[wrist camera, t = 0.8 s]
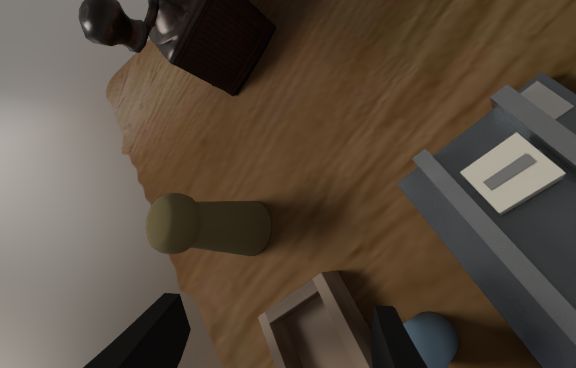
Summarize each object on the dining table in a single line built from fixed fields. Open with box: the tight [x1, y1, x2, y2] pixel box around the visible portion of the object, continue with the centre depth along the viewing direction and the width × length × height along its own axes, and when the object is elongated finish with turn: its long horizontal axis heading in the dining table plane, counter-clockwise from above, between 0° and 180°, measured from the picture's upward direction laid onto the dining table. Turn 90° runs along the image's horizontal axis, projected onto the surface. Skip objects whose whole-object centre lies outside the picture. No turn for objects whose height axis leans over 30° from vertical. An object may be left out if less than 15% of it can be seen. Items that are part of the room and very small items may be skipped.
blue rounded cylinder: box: [403, 312, 459, 368], centre depth 17 cm, size 3×3×6 cm
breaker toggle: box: [460, 132, 566, 216], centre depth 16 cm, size 3×3×2 cm
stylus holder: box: [258, 270, 372, 368], centre depth 23 cm, size 8×8×3 cm
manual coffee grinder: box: [79, 0, 276, 96], centre depth 31 cm, size 16×11×18 cm
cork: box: [146, 193, 271, 256], centre depth 28 cm, size 6×6×11 cm
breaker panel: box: [397, 72, 576, 368], centre depth 15 cm, size 16×10×3 cm, turn 31°
